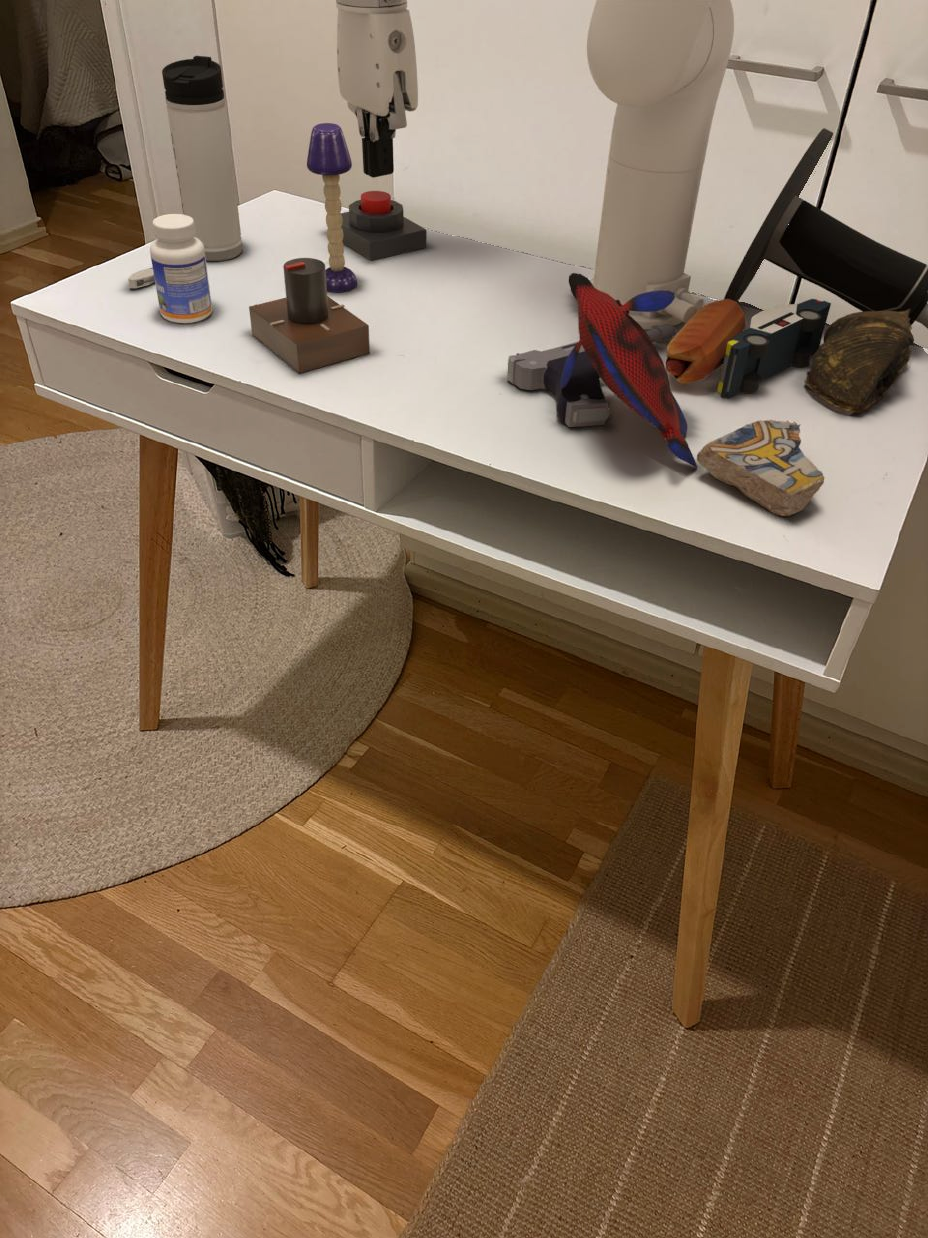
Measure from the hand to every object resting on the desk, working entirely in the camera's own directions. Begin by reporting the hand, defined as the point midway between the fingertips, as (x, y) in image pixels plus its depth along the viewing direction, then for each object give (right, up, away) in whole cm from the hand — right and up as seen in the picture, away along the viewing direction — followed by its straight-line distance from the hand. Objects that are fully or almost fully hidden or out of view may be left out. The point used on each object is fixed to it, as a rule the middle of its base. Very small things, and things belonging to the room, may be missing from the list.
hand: (378, 173), depth 117 cm
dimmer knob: (-5, -22, -18) cm, 29 cm away
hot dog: (+36, -25, -20) cm, 48 cm away
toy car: (+42, -27, -20) cm, 53 cm away
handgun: (+29, -32, -25) cm, 49 cm away
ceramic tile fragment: (+40, -39, -33) cm, 65 cm away
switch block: (-1, -6, +5) cm, 8 cm away
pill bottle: (-19, -20, -11) cm, 30 cm away
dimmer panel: (-6, -24, -16) cm, 30 cm away
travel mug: (-19, -9, +2) cm, 21 cm away
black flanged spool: (+42, -10, -12) cm, 45 cm away
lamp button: (-1, -3, +3) cm, 4 cm away
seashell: (+50, -29, -17) cm, 60 cm away
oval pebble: (-25, -15, -5) cm, 30 cm away
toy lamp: (-4, -15, -5) cm, 16 cm away
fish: (+21, -30, -36) cm, 51 cm away
